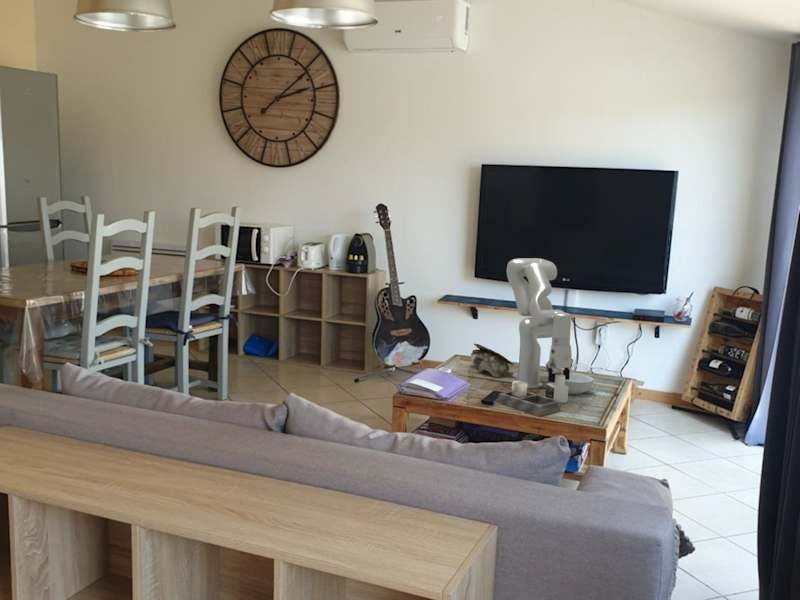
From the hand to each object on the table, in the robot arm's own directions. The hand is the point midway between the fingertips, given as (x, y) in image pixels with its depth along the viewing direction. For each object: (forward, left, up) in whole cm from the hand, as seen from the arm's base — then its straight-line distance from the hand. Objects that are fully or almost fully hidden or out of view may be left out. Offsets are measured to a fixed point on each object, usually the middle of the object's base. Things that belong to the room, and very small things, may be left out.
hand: (558, 380), depth 344 cm
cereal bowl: (-6, +18, -10) cm, 21 cm away
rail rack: (-2, -17, -9) cm, 19 cm away
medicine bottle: (-1, 0, -9) cm, 9 cm away
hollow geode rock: (-53, +13, -10) cm, 55 cm away
